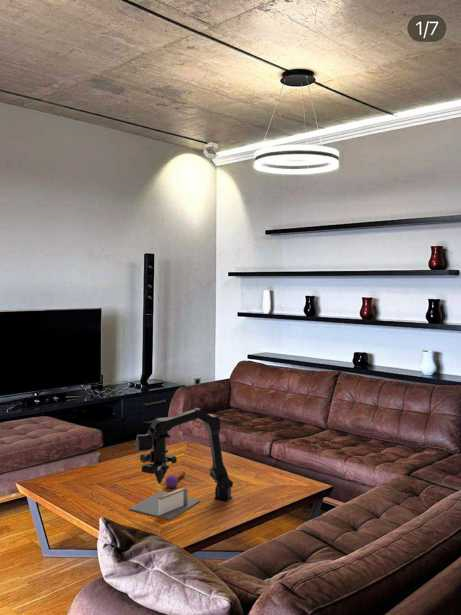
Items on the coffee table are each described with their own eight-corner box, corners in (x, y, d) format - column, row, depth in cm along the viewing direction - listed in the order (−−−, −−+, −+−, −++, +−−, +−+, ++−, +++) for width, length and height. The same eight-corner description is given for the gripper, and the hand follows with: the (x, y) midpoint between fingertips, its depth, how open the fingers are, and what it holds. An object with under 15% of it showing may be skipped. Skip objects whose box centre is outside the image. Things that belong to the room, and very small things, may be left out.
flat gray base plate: (200, 501, 271) (200, 484, 270) (170, 520, 250) (170, 501, 249) (160, 492, 281) (161, 475, 281) (128, 509, 260) (128, 491, 260)
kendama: (188, 469, 305) (176, 478, 285) (186, 480, 305) (173, 490, 285) (178, 465, 306) (165, 475, 286) (175, 477, 306) (162, 487, 287)
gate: (181, 504, 264) (181, 488, 264) (183, 505, 263) (183, 489, 263) (158, 514, 253) (158, 497, 253) (160, 515, 252) (160, 498, 252)
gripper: (156, 440, 272) (157, 473, 273) (131, 450, 255) (131, 486, 256) (177, 443, 266) (177, 477, 267) (152, 454, 250) (152, 491, 251)
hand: (159, 483), depth 261 cm, fingers closed
